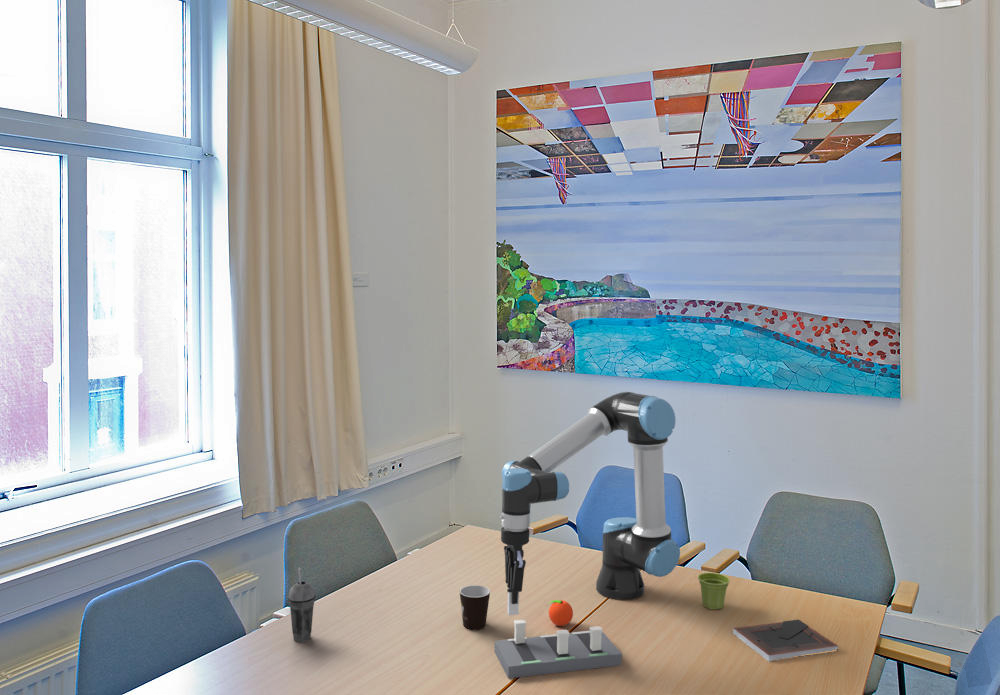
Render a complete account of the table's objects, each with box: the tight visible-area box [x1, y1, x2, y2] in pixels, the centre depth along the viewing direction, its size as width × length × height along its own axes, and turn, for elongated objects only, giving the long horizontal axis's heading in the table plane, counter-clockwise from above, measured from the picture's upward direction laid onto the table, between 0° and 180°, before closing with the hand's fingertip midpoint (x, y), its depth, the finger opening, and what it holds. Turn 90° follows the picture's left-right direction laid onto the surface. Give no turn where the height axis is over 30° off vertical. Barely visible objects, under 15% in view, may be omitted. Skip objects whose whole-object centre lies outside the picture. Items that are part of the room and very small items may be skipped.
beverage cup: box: [287, 567, 316, 643], centre depth 210 cm, size 7×7×20 cm
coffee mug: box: [459, 584, 491, 631], centre depth 221 cm, size 12×9×10 cm
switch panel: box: [493, 630, 623, 679], centre depth 201 cm, size 30×14×3 cm, turn 105°
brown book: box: [732, 619, 839, 662], centre depth 213 cm, size 16×2×22 cm
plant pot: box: [697, 572, 731, 611], centre depth 236 cm, size 9×9×9 cm
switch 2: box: [588, 625, 604, 651], centre depth 199 cm, size 3×2×6 cm
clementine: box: [547, 599, 574, 627], centre depth 221 cm, size 8×7×7 cm
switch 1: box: [513, 619, 527, 644], centre depth 203 cm, size 3×2×6 cm
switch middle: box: [555, 629, 570, 655], centre depth 197 cm, size 3×2×6 cm
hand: (512, 613), depth 208 cm, fingers closed
